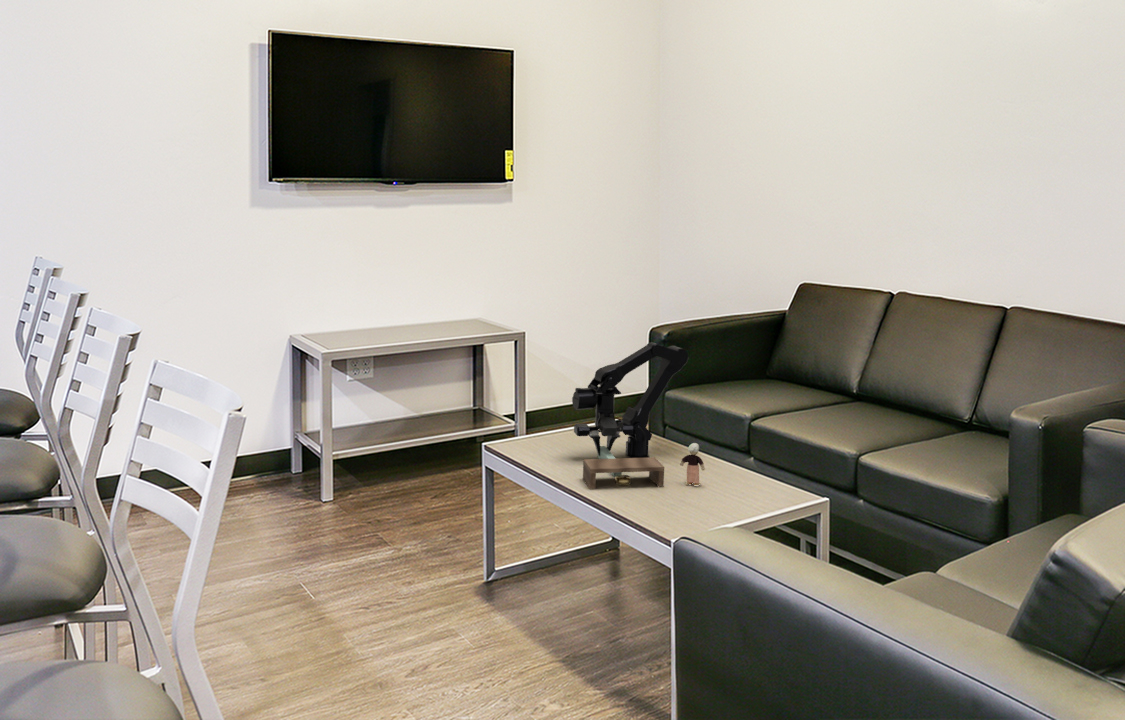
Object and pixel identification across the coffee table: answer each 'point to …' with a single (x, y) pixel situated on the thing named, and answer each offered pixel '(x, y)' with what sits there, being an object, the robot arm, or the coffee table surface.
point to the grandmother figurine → (693, 464)
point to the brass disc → (622, 479)
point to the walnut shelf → (622, 468)
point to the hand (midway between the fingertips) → (603, 455)
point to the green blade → (607, 457)
